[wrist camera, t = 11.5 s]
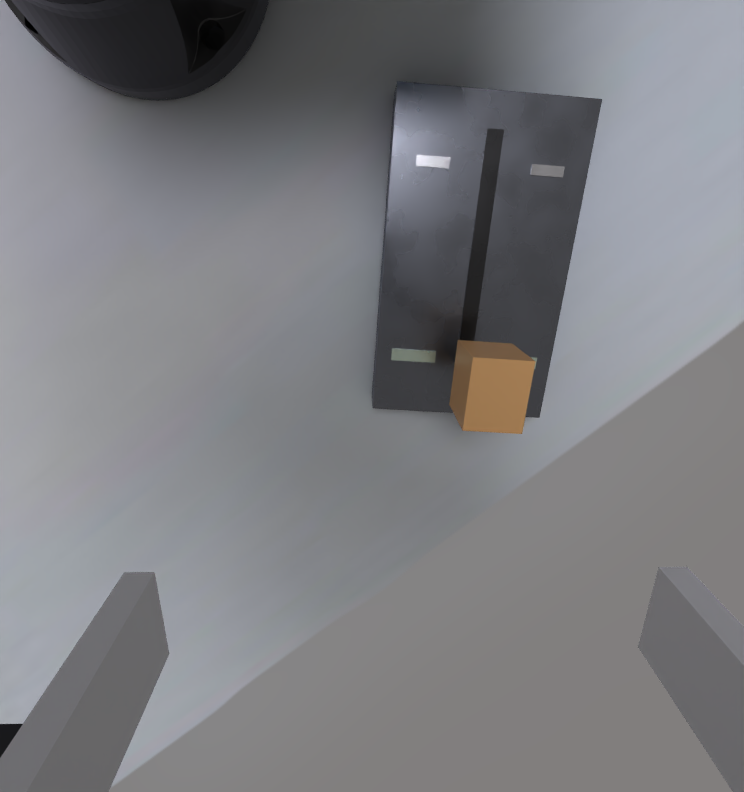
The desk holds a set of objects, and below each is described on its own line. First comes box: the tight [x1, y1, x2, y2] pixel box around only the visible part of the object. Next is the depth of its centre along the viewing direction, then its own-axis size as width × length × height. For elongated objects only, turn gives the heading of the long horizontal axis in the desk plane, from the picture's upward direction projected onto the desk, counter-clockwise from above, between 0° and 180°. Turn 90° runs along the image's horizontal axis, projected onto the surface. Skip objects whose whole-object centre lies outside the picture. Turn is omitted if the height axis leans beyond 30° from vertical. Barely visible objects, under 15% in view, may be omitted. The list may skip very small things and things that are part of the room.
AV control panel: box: [372, 81, 602, 418], centre depth 32 cm, size 20×12×3 cm, turn 176°
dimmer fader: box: [449, 340, 536, 434], centre depth 29 cm, size 4×3×8 cm
